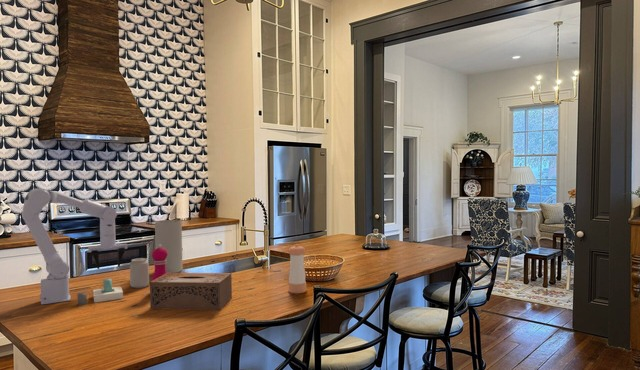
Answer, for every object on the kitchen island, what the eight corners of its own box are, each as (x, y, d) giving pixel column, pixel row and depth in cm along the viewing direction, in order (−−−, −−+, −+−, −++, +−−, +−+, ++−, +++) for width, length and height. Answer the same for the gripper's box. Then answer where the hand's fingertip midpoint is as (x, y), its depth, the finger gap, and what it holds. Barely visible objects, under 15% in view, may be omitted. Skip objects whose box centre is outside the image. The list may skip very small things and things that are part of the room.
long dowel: (104, 298, 167) (103, 281, 167) (103, 296, 169) (103, 279, 169) (112, 297, 168) (112, 280, 168) (112, 295, 171) (111, 278, 171)
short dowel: (77, 305, 158) (77, 295, 158) (77, 303, 161) (77, 293, 161) (86, 304, 160) (86, 294, 159) (86, 302, 162) (86, 292, 162)
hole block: (94, 302, 162) (94, 295, 162) (93, 296, 171) (93, 289, 171) (123, 298, 167) (122, 292, 167) (120, 292, 176) (120, 286, 176)
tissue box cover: (150, 309, 154) (149, 282, 153) (167, 297, 168) (167, 272, 168) (220, 310, 151) (219, 282, 151) (231, 298, 166) (231, 273, 166)
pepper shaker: (304, 293, 170) (303, 246, 170) (286, 292, 172) (285, 245, 171) (308, 288, 178) (307, 243, 177) (291, 288, 179) (290, 242, 179)
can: (126, 287, 183) (125, 259, 183) (141, 283, 190) (140, 256, 190) (138, 289, 180) (137, 261, 180) (152, 285, 186) (152, 258, 186)
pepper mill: (163, 296, 170) (162, 246, 169) (147, 295, 171) (146, 245, 171) (173, 291, 177) (172, 243, 176) (157, 290, 178) (156, 242, 178)
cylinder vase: (155, 270, 216) (154, 221, 215) (180, 267, 221) (179, 219, 221) (157, 275, 205) (155, 223, 204) (184, 272, 210) (183, 222, 209)
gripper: (88, 237, 170) (89, 271, 171) (127, 234, 178) (128, 267, 178) (87, 235, 177) (88, 268, 177) (126, 232, 184) (126, 264, 184)
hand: (108, 267), depth 178 cm, fingers open, 7 cm apart
